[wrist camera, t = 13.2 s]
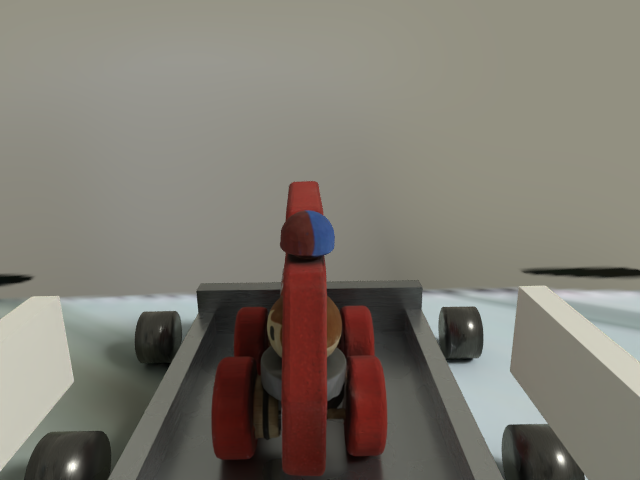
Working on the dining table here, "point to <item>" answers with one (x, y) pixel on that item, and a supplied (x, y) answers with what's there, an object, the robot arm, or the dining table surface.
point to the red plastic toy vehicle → (301, 360)
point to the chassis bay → (341, 467)
